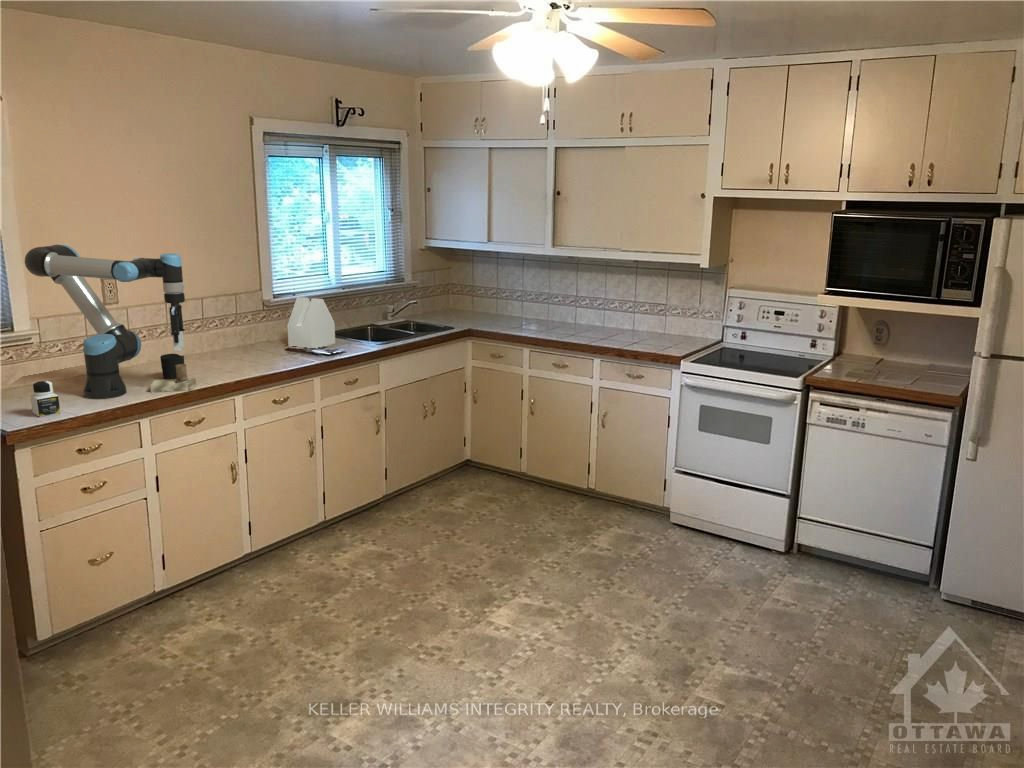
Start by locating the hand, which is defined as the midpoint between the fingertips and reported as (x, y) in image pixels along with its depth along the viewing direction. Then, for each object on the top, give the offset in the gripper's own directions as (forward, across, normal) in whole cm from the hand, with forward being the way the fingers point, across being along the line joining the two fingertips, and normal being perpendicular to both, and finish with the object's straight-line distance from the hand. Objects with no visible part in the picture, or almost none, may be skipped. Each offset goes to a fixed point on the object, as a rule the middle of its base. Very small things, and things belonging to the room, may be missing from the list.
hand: (179, 348), depth 319 cm
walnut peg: (+17, 0, 0) cm, 17 cm away
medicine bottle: (+17, -29, +42) cm, 54 cm away
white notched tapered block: (+17, +82, -52) cm, 98 cm away
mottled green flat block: (+17, 0, +4) cm, 17 cm away
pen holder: (+17, +19, +6) cm, 26 cm away
